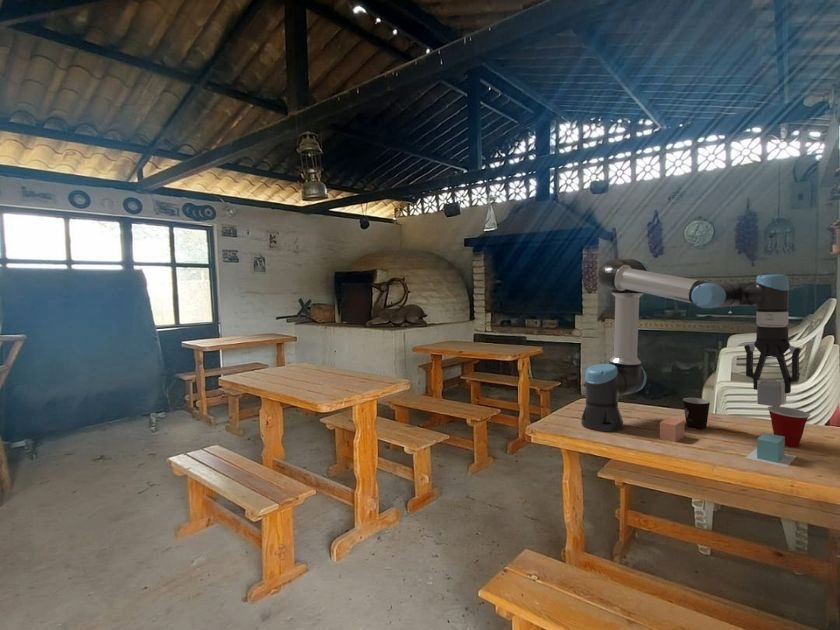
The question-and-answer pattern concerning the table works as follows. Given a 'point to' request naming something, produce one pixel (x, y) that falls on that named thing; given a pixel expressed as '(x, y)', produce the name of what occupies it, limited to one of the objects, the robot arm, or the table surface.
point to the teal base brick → (770, 447)
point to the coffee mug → (696, 412)
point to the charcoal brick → (769, 393)
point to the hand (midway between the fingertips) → (771, 401)
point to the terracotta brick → (672, 429)
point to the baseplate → (783, 462)
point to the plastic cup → (788, 424)
